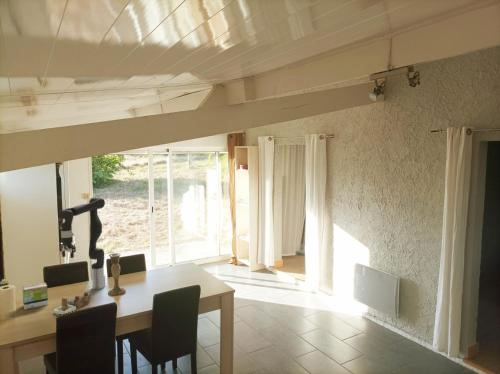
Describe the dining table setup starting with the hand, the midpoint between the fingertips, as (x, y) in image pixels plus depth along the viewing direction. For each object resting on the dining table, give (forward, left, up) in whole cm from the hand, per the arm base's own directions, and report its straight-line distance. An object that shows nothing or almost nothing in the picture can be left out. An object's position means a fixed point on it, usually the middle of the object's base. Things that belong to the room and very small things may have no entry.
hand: (67, 257), depth 274 cm
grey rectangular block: (+4, +12, -34) cm, 36 cm away
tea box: (+17, -15, -33) cm, 40 cm away
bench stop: (+4, +17, -33) cm, 37 cm away
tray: (+17, +15, -33) cm, 40 cm away
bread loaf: (+17, +15, -32) cm, 40 cm away
